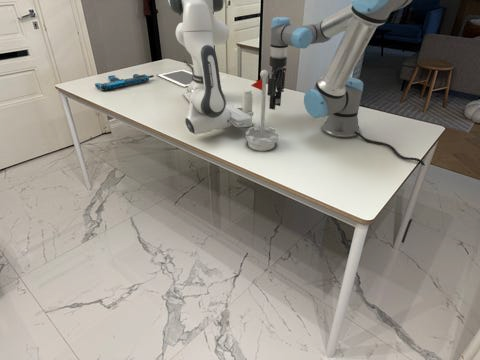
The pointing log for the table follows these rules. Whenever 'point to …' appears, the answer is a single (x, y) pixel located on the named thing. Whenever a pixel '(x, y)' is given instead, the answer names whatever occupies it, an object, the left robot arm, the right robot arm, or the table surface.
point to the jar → (247, 102)
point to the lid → (277, 99)
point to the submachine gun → (122, 81)
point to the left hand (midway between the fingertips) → (248, 111)
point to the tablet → (178, 77)
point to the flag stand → (262, 123)
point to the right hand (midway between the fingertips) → (274, 106)
